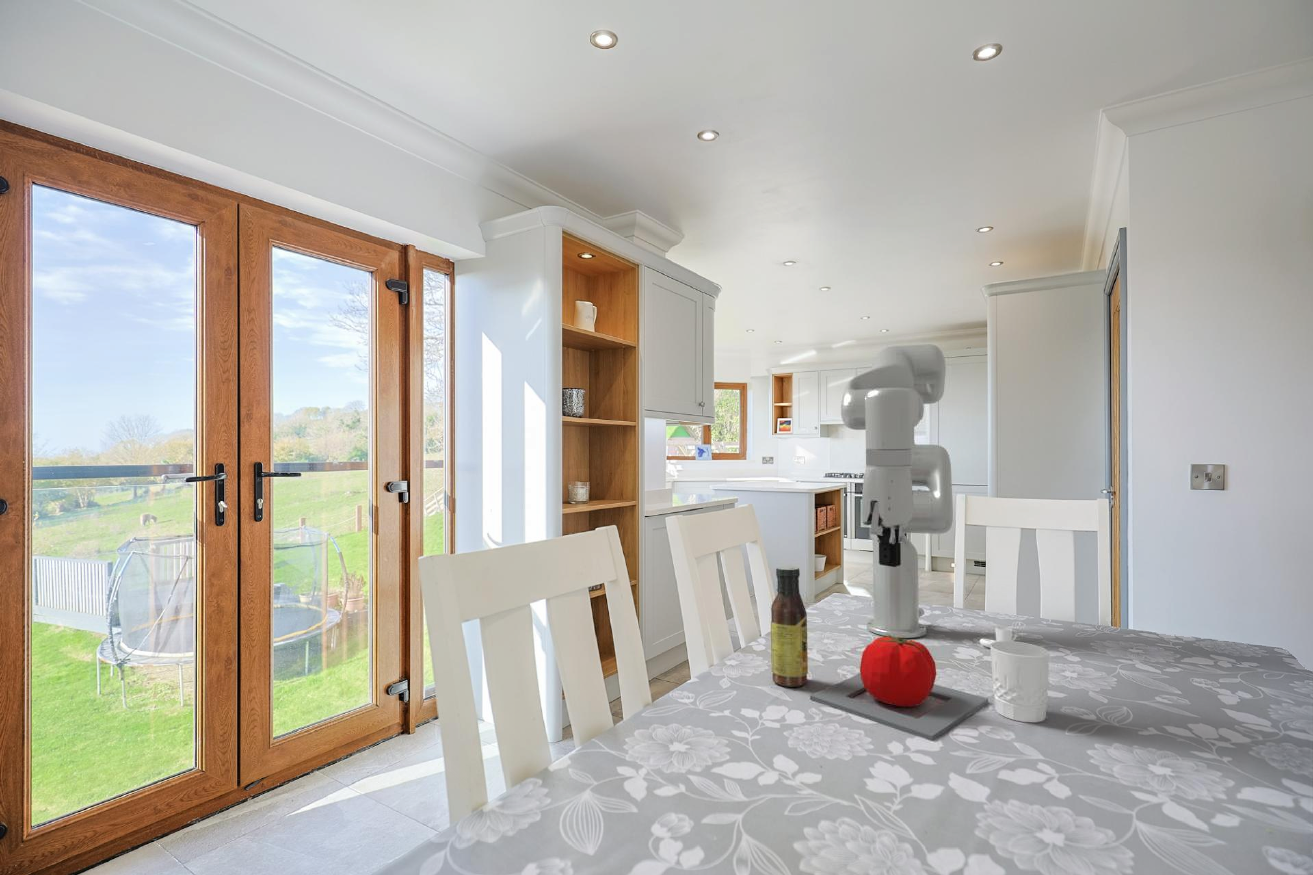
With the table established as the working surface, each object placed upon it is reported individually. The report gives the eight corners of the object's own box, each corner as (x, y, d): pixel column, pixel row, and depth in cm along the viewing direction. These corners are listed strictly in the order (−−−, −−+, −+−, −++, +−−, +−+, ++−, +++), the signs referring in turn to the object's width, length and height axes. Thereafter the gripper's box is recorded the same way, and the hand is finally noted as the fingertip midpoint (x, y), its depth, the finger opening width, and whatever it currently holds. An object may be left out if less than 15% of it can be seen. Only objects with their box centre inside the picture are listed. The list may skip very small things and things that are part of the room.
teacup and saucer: (982, 651, 130) (981, 631, 130) (975, 640, 137) (974, 621, 137) (1030, 655, 127) (1030, 635, 127) (1020, 644, 135) (1020, 624, 135)
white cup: (1034, 704, 101) (1033, 641, 102) (1060, 726, 94) (1059, 657, 94) (982, 703, 102) (981, 640, 102) (1004, 723, 94) (1003, 655, 95)
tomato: (888, 719, 96) (887, 650, 96) (846, 692, 107) (845, 630, 107) (955, 711, 99) (954, 644, 99) (907, 685, 110) (906, 625, 110)
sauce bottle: (811, 689, 108) (810, 571, 109) (774, 688, 108) (773, 571, 109) (803, 675, 115) (802, 564, 115) (768, 675, 115) (768, 564, 115)
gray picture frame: (873, 670, 117) (873, 667, 117) (988, 702, 102) (988, 698, 102) (810, 699, 104) (810, 695, 104) (932, 740, 89) (931, 736, 89)
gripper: (889, 456, 118) (890, 555, 118) (846, 461, 108) (847, 569, 108) (929, 457, 112) (930, 561, 113) (887, 462, 102) (889, 576, 103)
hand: (889, 565), depth 110 cm, fingers closed
